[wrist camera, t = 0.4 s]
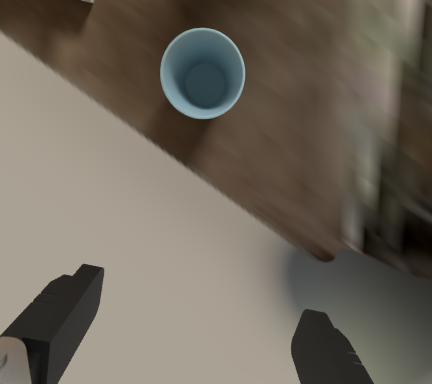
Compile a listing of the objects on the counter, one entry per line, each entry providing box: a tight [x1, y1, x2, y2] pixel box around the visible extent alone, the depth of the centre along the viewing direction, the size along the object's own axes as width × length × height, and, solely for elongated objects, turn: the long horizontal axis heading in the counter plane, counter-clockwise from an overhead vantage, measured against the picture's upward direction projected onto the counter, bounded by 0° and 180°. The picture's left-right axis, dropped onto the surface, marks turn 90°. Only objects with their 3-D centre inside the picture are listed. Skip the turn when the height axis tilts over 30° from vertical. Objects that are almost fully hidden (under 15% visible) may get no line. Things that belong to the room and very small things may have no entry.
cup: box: [160, 28, 245, 119], centre depth 30 cm, size 8×8×10 cm
